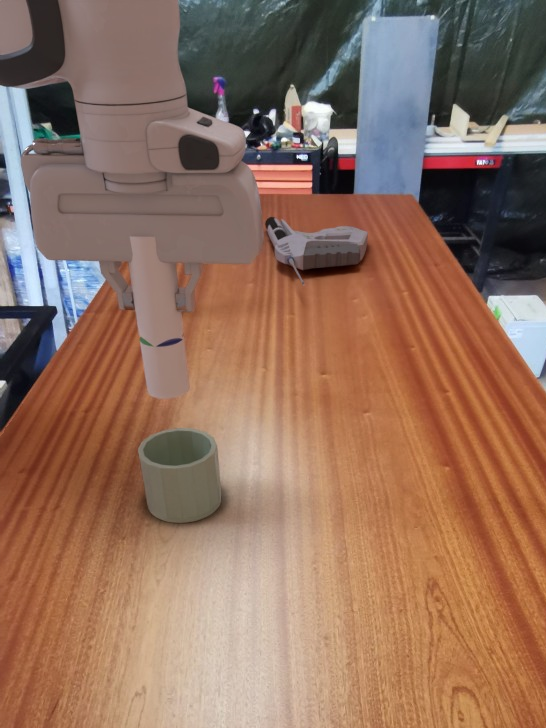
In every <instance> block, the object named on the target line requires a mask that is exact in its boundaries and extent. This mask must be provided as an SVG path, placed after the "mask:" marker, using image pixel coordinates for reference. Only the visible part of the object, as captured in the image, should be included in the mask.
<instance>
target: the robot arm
mask: <svg viewBox="0 0 546 728" xmlns="http://www.w3.org/2000/svg"><path fill="white" fill-rule="evenodd" d="M180 32H181V14H180V3H179V0H0V86H2V87H6V88H14V89H20V90H21V89H23V90H25V89H26V90H27V89H28V90H29V89H34V88H41V87H44V86H49V85H55V84H62V83H68V84H69V85H70V87H71V89H72V94H73V100H74V105H75V111H76V116H77V122H78V128H79V135H80V137H77V138H61V139H49V138H45V137H44V138H36V139H33V140H32V144H31V143H30V144H29V145H28V146H26V147H25V148H24V150H23V151H22V153H21V157H20V167H21V172H22V177H23V182H24V185H25V187H26V190H27V191H28V192H29V202H30V203H29V204H30V213H31V214H30V215H31V223H32V229H33V230H32V231H33V237H34V241H35V247H36V249H37V250H38V252H40V254H41V255H42V256H43V257H44V259H46V260H48V261H66V262H67V261H72V262H73V261H74V262H75V261H76V262H98V264H99V269H100V274H101V275H102V277H103V278H104V280H105V281H106V282H107V283H108V285H109V286H110V288H111V289H112V290H113V291H114V293H116V300H117V304H118V309H119V311H135V306H134V299H133V293H132V286H131V285H129V284H128V282H127V280H126V279H125V278H124V276H123V274H122V273H121V272H120V268H121V266H122V265H123V263H128V262H131V261H132V256H133V253H132V247H131V241H130V236H140V237H155V241H156V251H157V256H158V258H159V260H160V261H161V262H163V263H176V264H183V269H184V275H185V276H190V278H189V279H188V283H187V285H186V286H179V290H178V291H177V292H176V293H175V298H176V302H177V303H178V304H177V306H176V307H177V311H178V312H181V313H194V311H195V309H196V307H197V298H196V288H197V286H198V283H199V281H200V280H201V277H202V275H203V272H204V270H205V268H206V267H205V264H206V265H207V264H208V265H209V264H210V265H213V264H214V265H252V264H253V263H254V262H255V261H256V259H257V258H258V257H259V256H260V254H261V253H262V250H263V247H264V243H265V241H264V240H265V236H264V233H265V231H264V220H263V211H262V205H261V198H260V193H259V187H258V182H257V180H256V177H255V174H254V172H253V171H252V169H251V167H250V166H249V165H248V164H247V163H245V162H244V161H243V160H242V159H244V156H245V154H246V149H247V137H246V133H245V131H244V129H242V128H241V127H240V126H238V125H235V124H233V123H230V122H227V121H225V120H222V119H219V118H217V117H214V116H211V115H209V114H206V113H203V112H201V111H198V110H195V109H193V108H190V107H189V106H188V105H189V104H188V95H187V94H188V93H187V86H186V83H185V79H184V76H183V73H182V70H181V66H180V60H179V59H180V58H179V40H180V39H179V38H180ZM32 151H33V153H31V152H32Z"/></svg>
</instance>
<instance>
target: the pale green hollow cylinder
mask: <svg viewBox="0 0 546 728" xmlns="http://www.w3.org/2000/svg"><path fill="white" fill-rule="evenodd" d="M137 454H138V460H139V466H140V472H141V477H142V483H143V489H144V495H145V500H146V505H147V509H148V512H150V514H151V515H152V516H154V517H155V518H156V519H158V520H161V521H163V522H168V523H173V524H174V523H175V524H186V523H193V522H196V521H200V520H203V519H205V518H208V517H209V516H211V515H212V514H214V513H215V512H216V511H217V510H218V508H219V507H220V506H221V504H222V503H221V502H222V484H221V473H220V462H219V451H218V444H217V441H216V439H215V437H214V436H212V435H211V434H209V433H208V432H207V431H203V430H200V429H196V428H190V427H175V428H168V429H164V430H161V431H158V432H155V433H152V434H151V435H149V436H147V437H146V438H145V439H143V440H142V441H141V443H140V445H139V446H138V448H137Z"/></svg>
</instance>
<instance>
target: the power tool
mask: <svg viewBox="0 0 546 728" xmlns="http://www.w3.org/2000/svg"><path fill="white" fill-rule="evenodd" d="M264 223H265V224H264V225H265V228H266V232H267V235H268V237H269V239H270V241H271V243H272V245H273V247H274V257H275V259H276V260H277V261H278V262H280V263H282V264H284V265H288V266H290V267H292V268H293V269H294V271H295V273H296V275H297V277H298V279H299V281H300V282H301V285H302V286H303V287H304V286H306V285H305V282H304V280H303V278H302V277H301V275H300V272H299V271H298V270H302V271H305V270H306V271H307V270H310V269H320V268H334V267H345V266H356V265H359V263H360V262H362V261H363V258H364V257H365V254H366V251H367V248H368V234H369V232H368V231H365V230H363V229H361V228H357V227H354V226H350V225H349V226H347V225H343V226H342V225H339V226H336V227H329V228H323V229H321V230H319V231H316V232H305V231H300V230H294V229H292V228H291V226H290V225H289V224H288V223H287V222H286V220H285V219H282V218H281V219H280V220H279V219H278V218H276V217H275V216H269V217H268V218H267V219H266V220H265V222H264Z"/></svg>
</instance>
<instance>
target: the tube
mask: <svg viewBox="0 0 546 728" xmlns="http://www.w3.org/2000/svg"><path fill="white" fill-rule="evenodd" d="M130 241H131V247H132V253H133V256H132V261H131V262H127V266H128V272H129V278H130V286H132V293H133V299H134V306H135V310H134V313H135V319H136V325H137V326H136V327H137V331H138V332H137V333H138V336H139V344H140V352H141V358H142V365H143V371H144V378H145V384H146V392H147V394H148V395H149V396H150V397H152V398H154V399H157V400H158V399H159V400H172V399H177V398H180V397H183V396H185V395H186V394H188V393H189V392H190V390H191V389H190V378H189V369H188V359H187V351H186V341H185V332H184V331H185V330H184V321H183V315H182V313H183V312H178V311H177V307H176V306H177V304H178V303H177V302H176V298H175V293H176V292H177V291H178V290H179V287H180V286H179V276H178V269H177V263H163V262H161V261H160V260H159V258H158V256H157V251H156V241H155V237H140V236H130Z"/></svg>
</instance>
